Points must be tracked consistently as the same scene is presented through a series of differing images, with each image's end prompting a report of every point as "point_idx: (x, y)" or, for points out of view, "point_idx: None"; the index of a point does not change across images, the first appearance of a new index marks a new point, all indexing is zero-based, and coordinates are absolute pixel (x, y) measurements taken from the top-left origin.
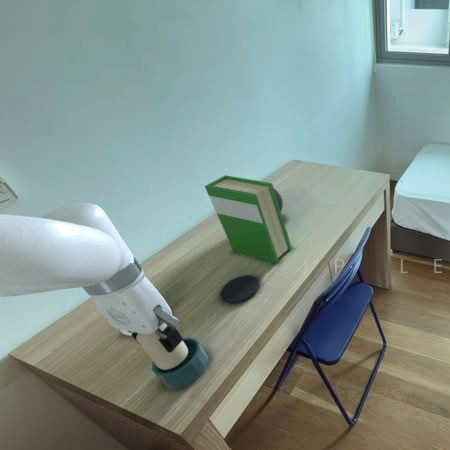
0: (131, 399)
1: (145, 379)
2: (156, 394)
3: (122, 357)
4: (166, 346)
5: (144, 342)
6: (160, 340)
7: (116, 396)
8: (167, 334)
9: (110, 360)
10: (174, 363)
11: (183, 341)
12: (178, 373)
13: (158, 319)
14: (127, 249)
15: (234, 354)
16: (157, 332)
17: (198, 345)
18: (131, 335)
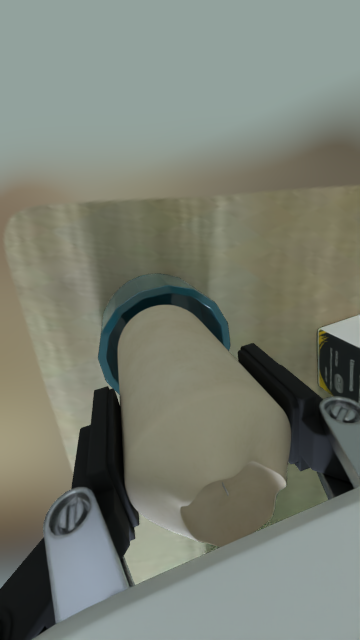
0: (212, 210)
1: (229, 261)
2: (163, 247)
3: (331, 272)
4: (94, 422)
5: (177, 413)
6: (91, 470)
7: (256, 199)
8: (39, 554)
9: (351, 255)
10: (119, 341)
11: None
12: (108, 318)
13: (330, 372)
14: None
15: (75, 403)
16: (73, 579)
17: None
18: (358, 316)
